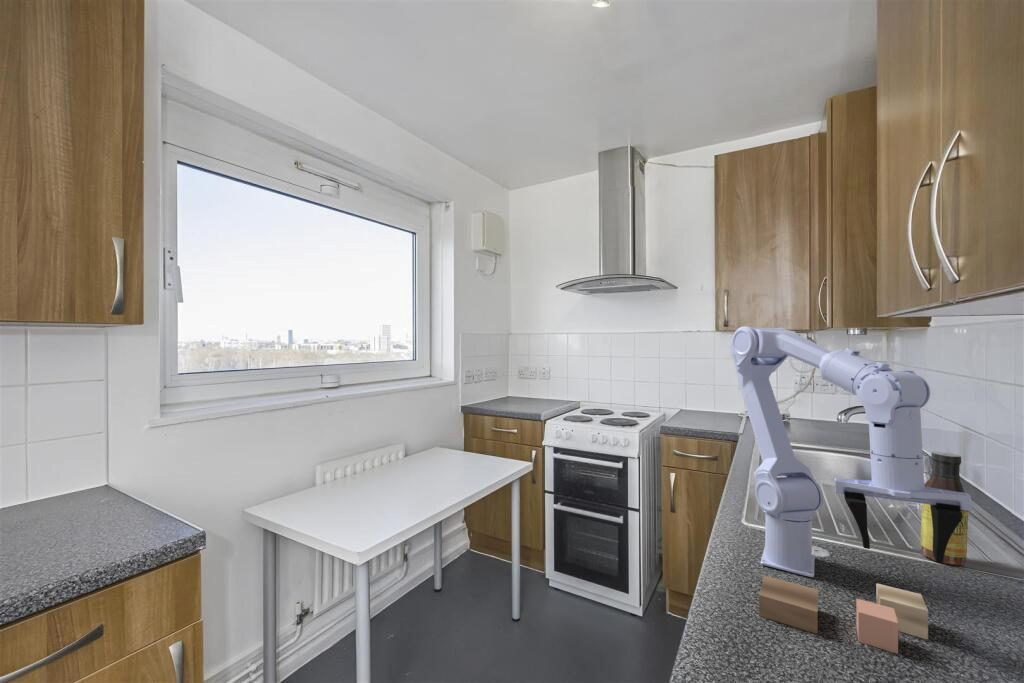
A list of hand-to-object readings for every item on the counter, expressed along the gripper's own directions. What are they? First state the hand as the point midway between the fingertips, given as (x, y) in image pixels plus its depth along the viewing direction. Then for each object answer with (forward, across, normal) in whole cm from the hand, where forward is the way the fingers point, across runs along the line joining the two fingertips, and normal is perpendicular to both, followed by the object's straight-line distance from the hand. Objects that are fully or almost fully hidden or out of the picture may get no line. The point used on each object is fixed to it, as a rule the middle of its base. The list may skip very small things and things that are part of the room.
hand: (901, 552), depth 62 cm
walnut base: (+10, -14, -5) cm, 18 cm away
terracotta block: (+11, -4, -5) cm, 12 cm away
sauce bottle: (+10, +9, +33) cm, 36 cm away
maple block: (+11, 0, +2) cm, 11 cm away
